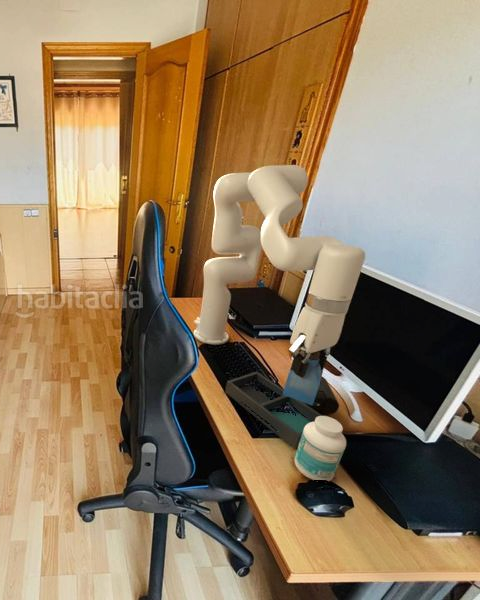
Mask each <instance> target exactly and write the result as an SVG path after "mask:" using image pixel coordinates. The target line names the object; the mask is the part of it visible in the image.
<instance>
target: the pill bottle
mask: <svg viewBox="0 0 480 600" xmlns="http://www.w3.org/2000/svg"><path fill="white" fill-rule="evenodd" d="M343 430H344V428H343V425H342V424H341V422H339V420H337V419H335V418H333V417H331V416H328V415H324V416H318V417H316V419H315V422H310V423H308V424H307V425H306V426H305V427H304V430H303V433H302V436H301V439H300V442H299V446H298V448H296V453H295V455H294V459H293V460H294V464H295V467H296V469H297V470H298V471H299V472H300V473H301V474H302V475H303V476H305V477H306V478H308V479H310V480H312V481H314V480H327V481H328V482H330V481H332V480H333V478H335V475H336V473H337V470H338V467H339V464H340V462H341V459H342V457H343V454H344V452H345V450H346V447H347V439H346V437H345V436H344V434H343Z"/></svg>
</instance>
